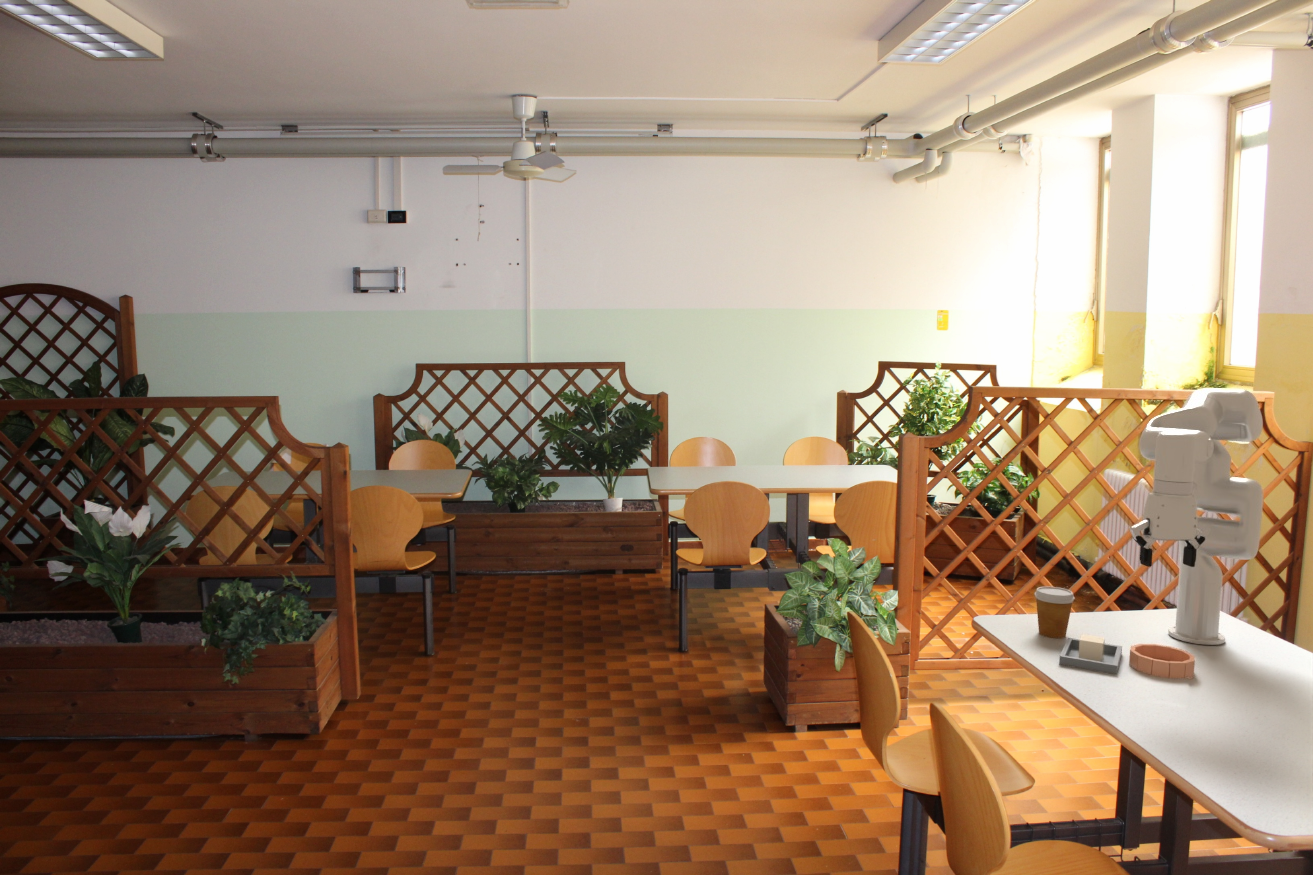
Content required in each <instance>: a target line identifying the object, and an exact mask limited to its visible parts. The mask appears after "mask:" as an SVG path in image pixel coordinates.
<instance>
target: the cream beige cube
mask: <svg viewBox="0 0 1313 875" xmlns="http://www.w3.org/2000/svg"><path fill="white" fill-rule="evenodd" d="M1079 639H1080V640H1079V657H1078V658H1082V659H1088V660H1094V661H1100V662H1103V659H1104V644H1106V643H1105V641H1106V638H1105V637H1102V636H1096V635H1089V634H1083V633H1082V634H1081V636H1080V638H1079Z"/></svg>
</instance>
